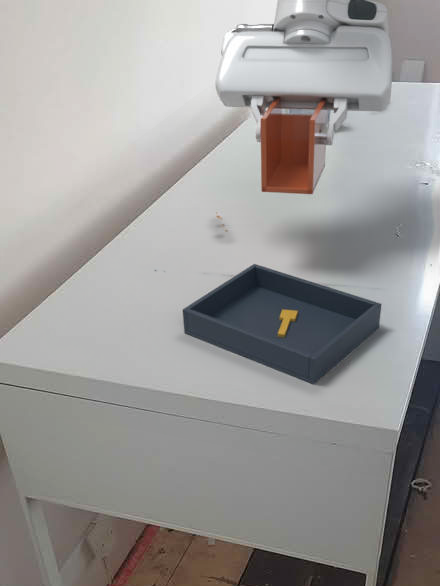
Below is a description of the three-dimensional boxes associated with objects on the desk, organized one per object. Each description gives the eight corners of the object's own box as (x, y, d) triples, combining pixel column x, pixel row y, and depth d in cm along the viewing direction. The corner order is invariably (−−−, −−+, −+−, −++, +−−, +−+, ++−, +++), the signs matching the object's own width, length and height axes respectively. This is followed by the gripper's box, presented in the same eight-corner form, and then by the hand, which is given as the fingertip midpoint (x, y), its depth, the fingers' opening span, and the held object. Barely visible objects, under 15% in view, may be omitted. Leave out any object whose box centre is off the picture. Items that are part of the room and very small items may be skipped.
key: (282, 312, 82) (282, 309, 82) (297, 313, 82) (297, 310, 81) (272, 336, 78) (272, 333, 78) (289, 338, 78) (289, 334, 77)
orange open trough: (277, 164, 90) (277, 95, 84) (324, 166, 88) (328, 96, 83) (261, 192, 83) (260, 118, 78) (312, 194, 82) (315, 120, 77)
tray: (379, 327, 79) (381, 303, 77) (313, 384, 72) (314, 359, 70) (254, 286, 88) (254, 263, 86) (184, 333, 80) (182, 309, 78)
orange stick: (212, 217, 104) (212, 211, 104) (220, 217, 104) (219, 210, 104) (222, 240, 99) (222, 233, 98) (230, 239, 99) (230, 232, 98)
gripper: (219, 6, 82) (200, 123, 82) (401, 6, 77) (382, 130, 77) (231, 41, 88) (213, 151, 88) (400, 43, 84) (382, 158, 83)
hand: (294, 141), depth 82 cm, fingers closed on orange open trough, 6 cm apart
